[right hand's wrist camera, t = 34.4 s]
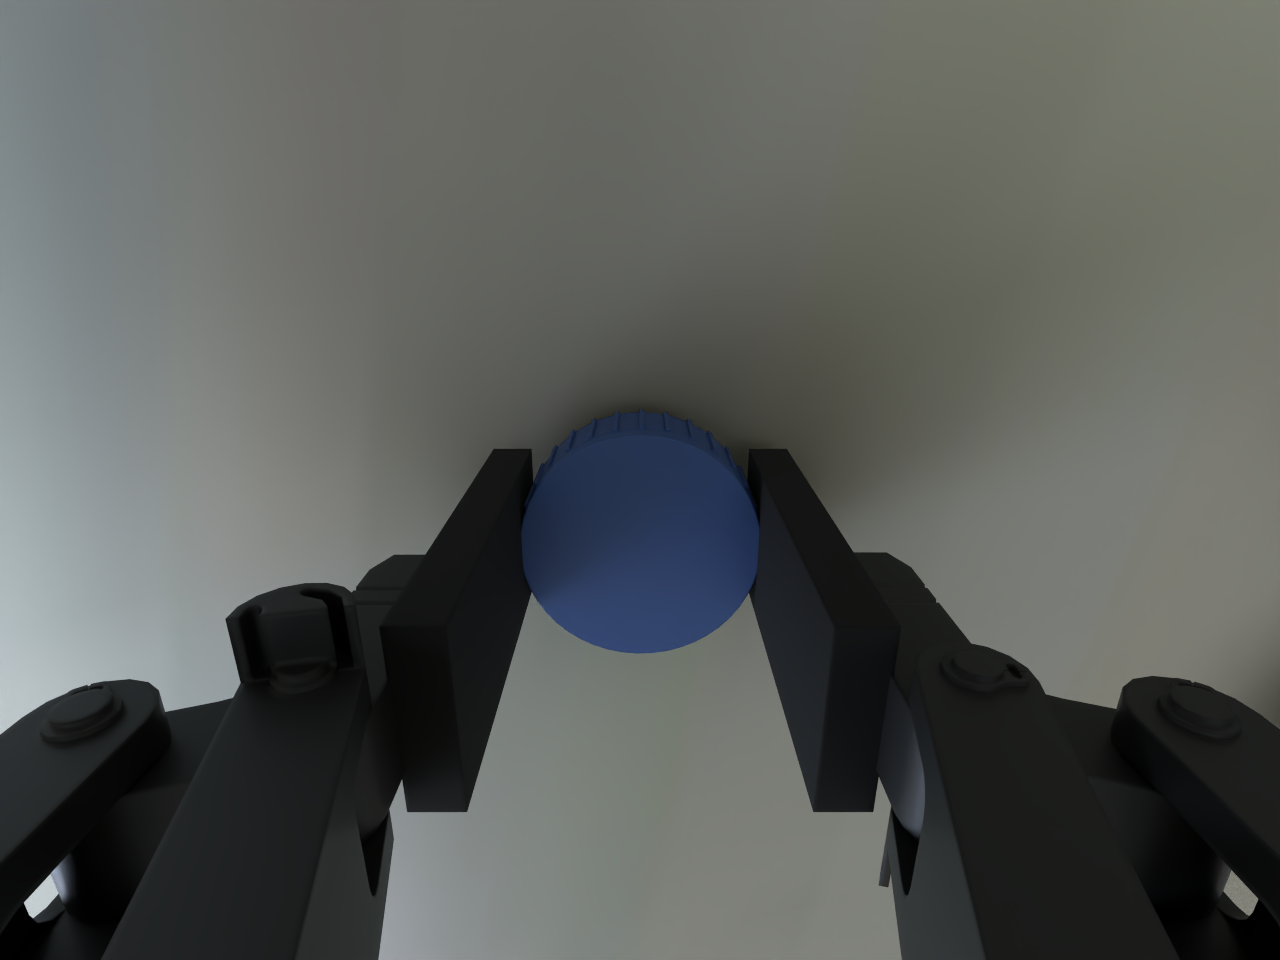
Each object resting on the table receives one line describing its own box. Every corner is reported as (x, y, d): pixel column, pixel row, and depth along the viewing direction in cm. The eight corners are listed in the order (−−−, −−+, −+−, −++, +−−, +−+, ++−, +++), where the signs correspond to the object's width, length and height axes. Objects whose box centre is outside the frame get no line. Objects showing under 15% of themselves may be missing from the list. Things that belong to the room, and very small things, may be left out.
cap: (755, 602, 15) (769, 646, 13) (546, 621, 15) (536, 665, 14) (746, 398, 13) (760, 420, 12) (512, 419, 14) (496, 445, 12)
